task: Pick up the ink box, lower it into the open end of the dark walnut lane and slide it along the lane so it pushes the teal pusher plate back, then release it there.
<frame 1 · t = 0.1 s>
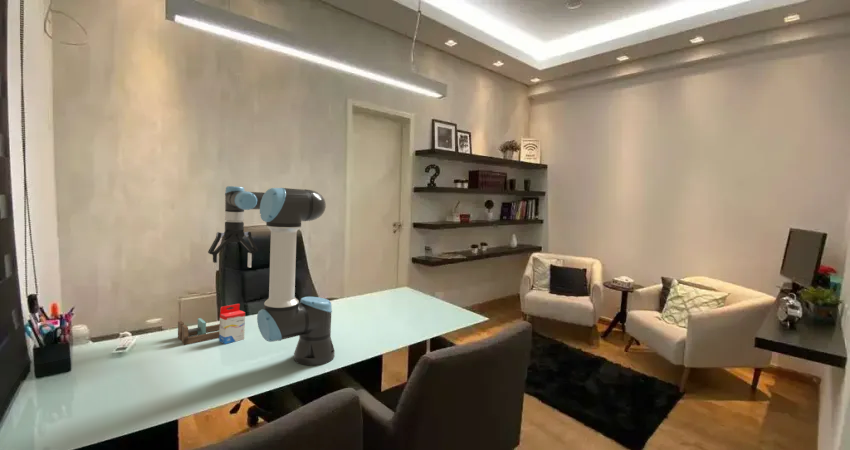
hand: (233, 268, 171), 28 cm above the table, fingers open, 13 cm apart
ink box: (232, 340, 161), on the table
pusher: (193, 330, 160), point 4 cm above the table, slide at 0.0 cm
lane: (208, 335, 164), on the table
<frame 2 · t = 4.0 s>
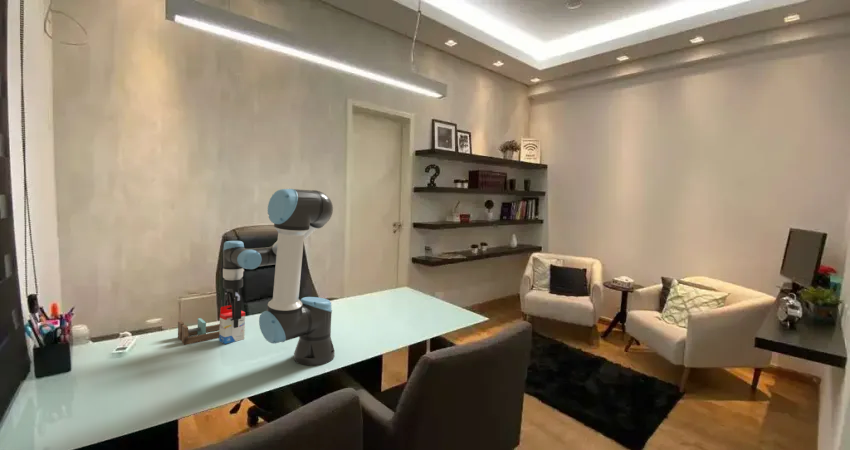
hand: (232, 332, 160), 3 cm above the table, fingers closed on ink box, 5 cm apart
ink box: (232, 340, 161), on the table, touching gripper
everything else where it was.
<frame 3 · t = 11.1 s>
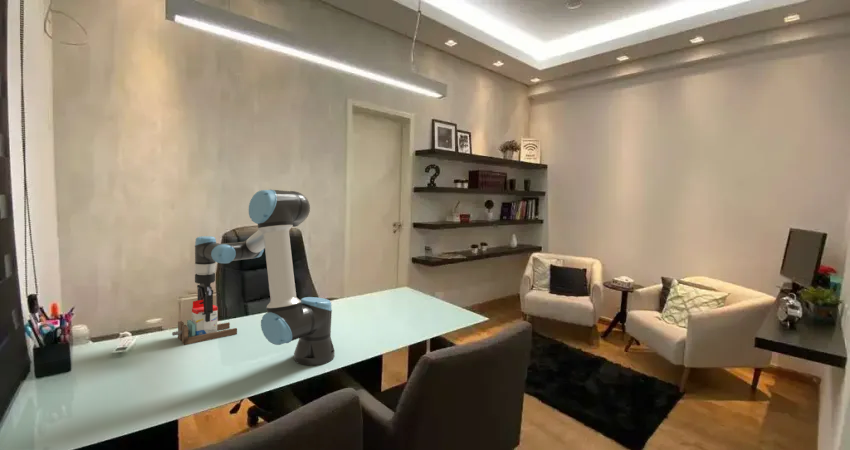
hand: (204, 326, 163), 4 cm above the table, fingers closed on ink box, 5 cm apart
ink box: (204, 334, 163), point 1 cm above the table, touching gripper
pusher: (182, 332, 157), point 4 cm above the table, slide at 3.9 cm
when the fingers open (4 cm above the table, at t = 12.0 s): ink box stays where it is, resting in lane.
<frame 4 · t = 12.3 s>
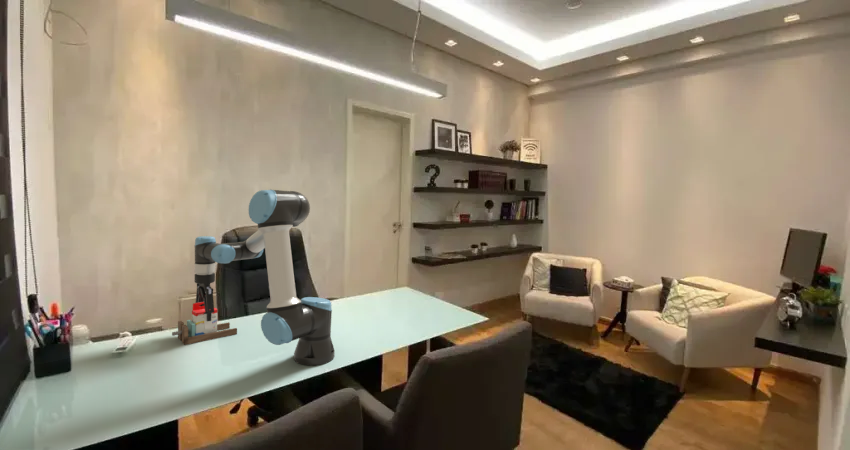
hand: (204, 324, 163), 5 cm above the table, fingers open, 9 cm apart
ink box: (204, 337, 163), resting in lane
everything else where it was.
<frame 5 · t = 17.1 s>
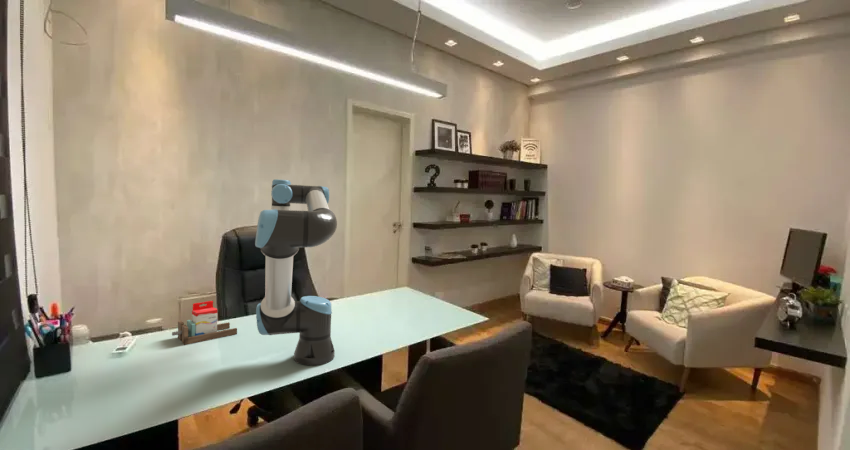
hand: (279, 265, 164), 32 cm above the table, fingers open, 13 cm apart
nothing on the table moved.
at the end: pusher slide at 4.0 cm; ink box inside the target area on the lane (2.4 cm from its centre), point 0.0 cm above the lane's base; ink box tilted 0° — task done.
